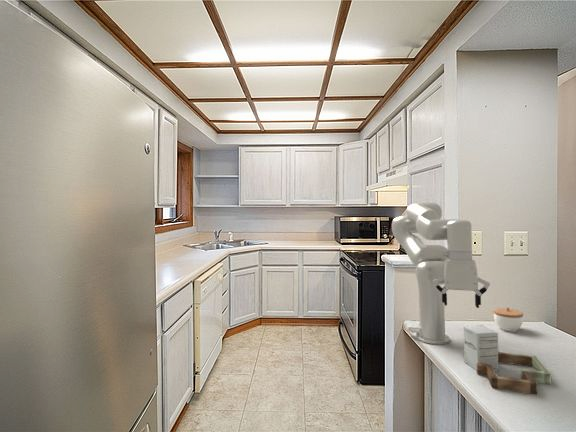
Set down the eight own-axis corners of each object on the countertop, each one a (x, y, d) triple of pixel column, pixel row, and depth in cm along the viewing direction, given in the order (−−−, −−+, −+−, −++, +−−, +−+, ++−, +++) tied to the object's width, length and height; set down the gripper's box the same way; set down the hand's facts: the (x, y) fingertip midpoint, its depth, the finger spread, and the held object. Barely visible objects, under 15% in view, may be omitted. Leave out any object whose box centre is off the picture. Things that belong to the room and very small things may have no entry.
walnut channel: (477, 374, 104) (477, 365, 104) (471, 357, 116) (471, 348, 116) (550, 384, 97) (550, 374, 97) (535, 365, 109) (535, 355, 109)
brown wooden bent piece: (491, 387, 96) (491, 377, 96) (486, 375, 104) (486, 365, 104) (536, 394, 92) (536, 383, 92) (528, 380, 100) (527, 370, 100)
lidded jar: (529, 333, 137) (529, 310, 137) (503, 334, 137) (503, 311, 137) (512, 324, 148) (511, 303, 148) (488, 325, 148) (487, 304, 148)
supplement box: (463, 362, 113) (462, 325, 113) (484, 360, 114) (483, 324, 114) (477, 372, 106) (476, 333, 106) (499, 371, 106) (498, 332, 106)
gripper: (432, 256, 113) (433, 306, 113) (490, 258, 106) (492, 311, 106) (432, 254, 120) (433, 301, 120) (486, 255, 113) (488, 304, 113)
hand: (461, 305), depth 113 cm, fingers open, 9 cm apart
